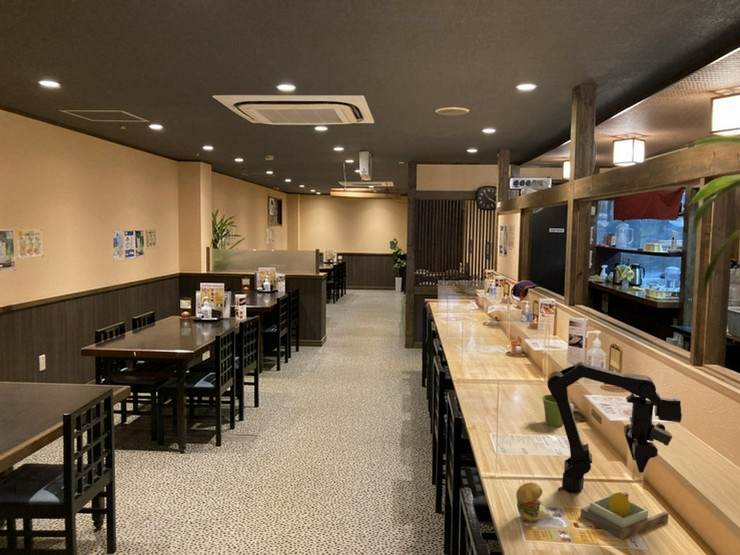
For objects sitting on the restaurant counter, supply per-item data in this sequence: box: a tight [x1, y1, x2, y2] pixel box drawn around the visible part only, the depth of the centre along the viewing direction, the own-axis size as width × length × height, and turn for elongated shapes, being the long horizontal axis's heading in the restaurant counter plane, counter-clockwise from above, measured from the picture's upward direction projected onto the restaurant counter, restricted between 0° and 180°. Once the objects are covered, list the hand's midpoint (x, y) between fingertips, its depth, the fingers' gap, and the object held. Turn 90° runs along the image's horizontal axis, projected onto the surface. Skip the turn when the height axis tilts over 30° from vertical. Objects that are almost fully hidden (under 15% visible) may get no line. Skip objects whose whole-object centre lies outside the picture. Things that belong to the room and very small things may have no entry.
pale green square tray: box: [589, 493, 649, 529], centre depth 162 cm, size 11×11×4 cm
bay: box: [580, 492, 670, 541], centre depth 163 cm, size 21×14×4 cm, turn 121°
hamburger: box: [515, 480, 543, 523], centre depth 163 cm, size 8×7×12 cm
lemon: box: [609, 491, 630, 518], centre depth 161 cm, size 6×6×8 cm
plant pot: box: [541, 393, 572, 428], centre depth 241 cm, size 12×12×11 cm
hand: (637, 466), depth 174 cm, fingers open, 9 cm apart
